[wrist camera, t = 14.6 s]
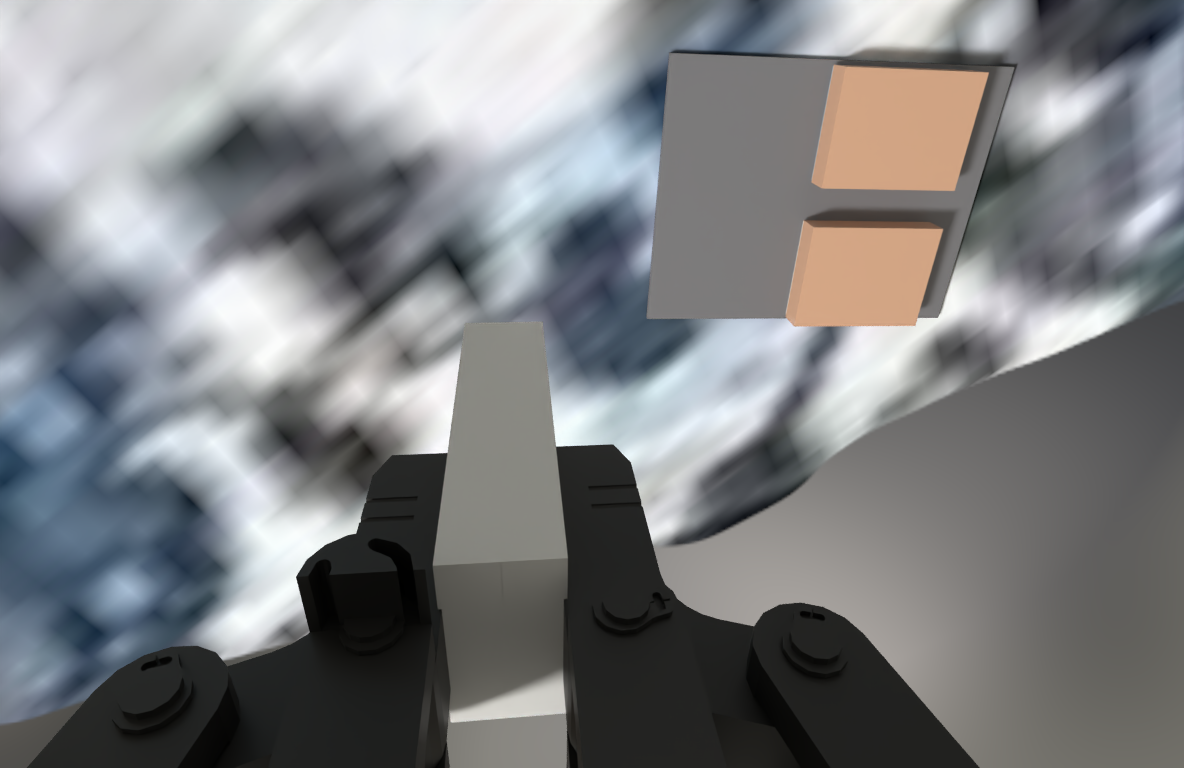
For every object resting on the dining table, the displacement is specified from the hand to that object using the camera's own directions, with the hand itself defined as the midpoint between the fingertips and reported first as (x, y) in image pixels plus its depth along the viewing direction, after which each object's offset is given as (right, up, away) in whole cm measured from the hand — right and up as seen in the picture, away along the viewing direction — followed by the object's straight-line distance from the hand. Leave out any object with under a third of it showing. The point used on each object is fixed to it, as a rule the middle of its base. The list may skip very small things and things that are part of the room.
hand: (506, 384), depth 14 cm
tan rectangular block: (+16, +16, +29) cm, 37 cm away
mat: (+17, +12, +32) cm, 39 cm away
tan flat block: (+16, +8, +33) cm, 38 cm away
